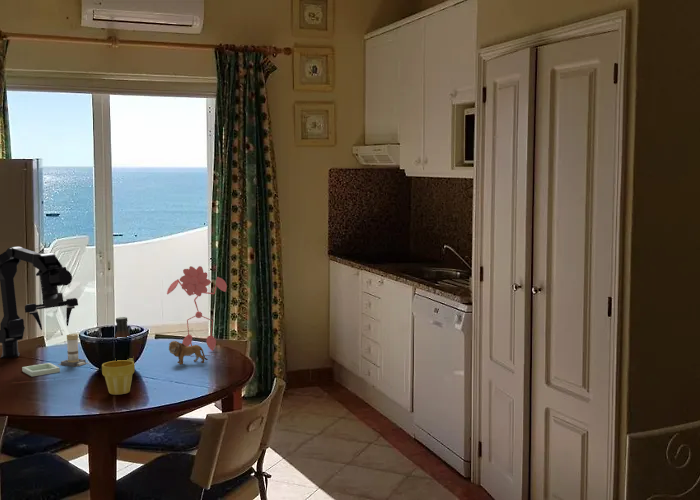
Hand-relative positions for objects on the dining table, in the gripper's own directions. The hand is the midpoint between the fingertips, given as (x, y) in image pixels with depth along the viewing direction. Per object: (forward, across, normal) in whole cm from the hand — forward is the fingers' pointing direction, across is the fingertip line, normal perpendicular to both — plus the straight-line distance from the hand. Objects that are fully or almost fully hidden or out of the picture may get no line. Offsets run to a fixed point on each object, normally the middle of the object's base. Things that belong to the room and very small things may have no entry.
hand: (54, 327), depth 304 cm
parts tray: (+15, -6, -9) cm, 19 cm away
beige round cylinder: (+14, +5, -1) cm, 15 cm away
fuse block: (+15, +5, -1) cm, 16 cm away
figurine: (+18, +52, +4) cm, 55 cm away
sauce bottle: (+18, +22, -18) cm, 34 cm away
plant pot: (+21, +18, -46) cm, 53 cm away
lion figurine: (+20, +46, -14) cm, 51 cm away
